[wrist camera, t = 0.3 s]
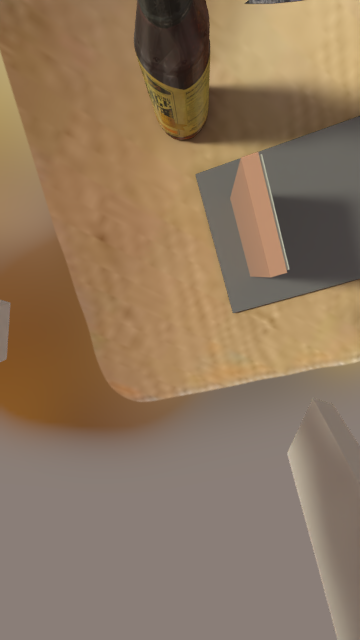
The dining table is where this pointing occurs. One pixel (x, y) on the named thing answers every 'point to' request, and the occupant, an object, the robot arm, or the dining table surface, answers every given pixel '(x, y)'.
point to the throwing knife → (269, 1)
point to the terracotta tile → (257, 219)
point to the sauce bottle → (175, 62)
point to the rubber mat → (295, 216)
